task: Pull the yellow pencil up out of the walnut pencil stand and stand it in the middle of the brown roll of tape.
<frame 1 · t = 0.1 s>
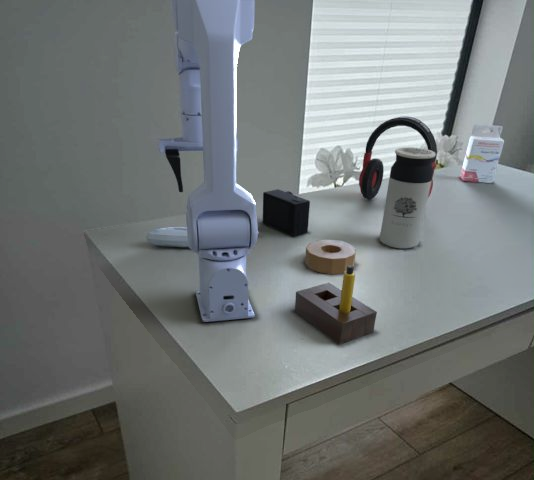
hand: (200, 190, 96), 10 cm above the table, tool pointing down, fingers open, 7 cm apart
tape roll: (329, 263, 93), on the table
travel mug: (398, 243, 103), on the table
spaceship: (203, 241, 101), on the table
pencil: (342, 328, 74), resting in pencil stand
pencil stand: (332, 321, 75), on the table
ink cartridge box: (476, 180, 146), on the table
digital camera: (286, 228, 108), on the table
headphones: (391, 203, 125), on the table
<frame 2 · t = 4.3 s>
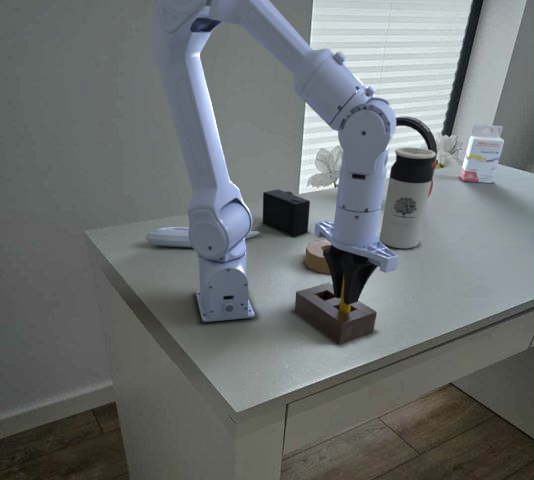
hand: (346, 299, 71), 5 cm above the table, tool pointing down, fingers closed on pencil, 1 cm apart
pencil: (342, 328, 74), resting in pencil stand, touching gripper
everything else where it was.
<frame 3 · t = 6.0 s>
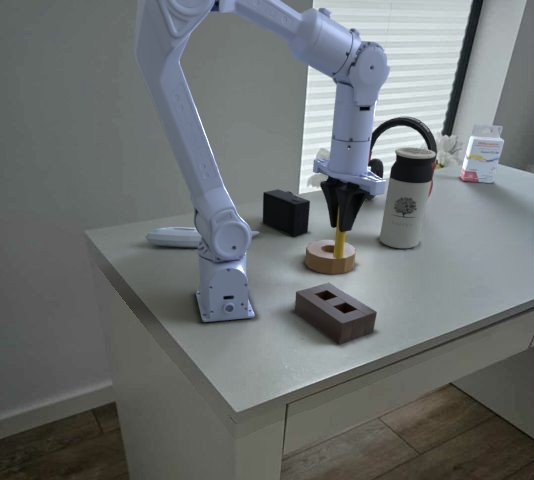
hand: (341, 228, 79), 10 cm above the table, tool pointing down, fingers closed on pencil
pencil: (338, 257, 82), point 6 cm above the table, touching gripper
everything else where it was.
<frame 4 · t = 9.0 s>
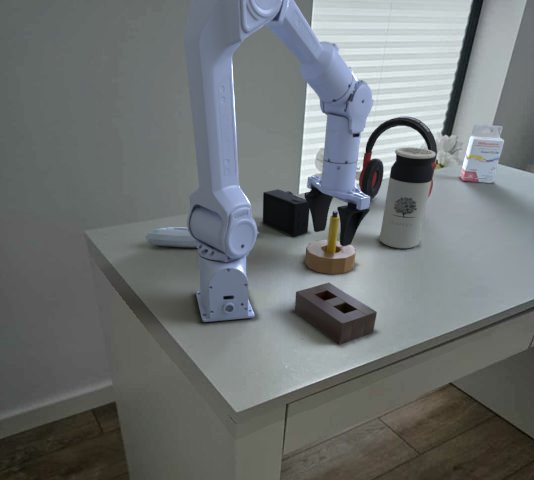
hand: (332, 237, 90), 5 cm above the table, tool pointing down, fingers open, 7 cm apart
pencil: (329, 263, 93), resting in tape roll
everything else where it was.
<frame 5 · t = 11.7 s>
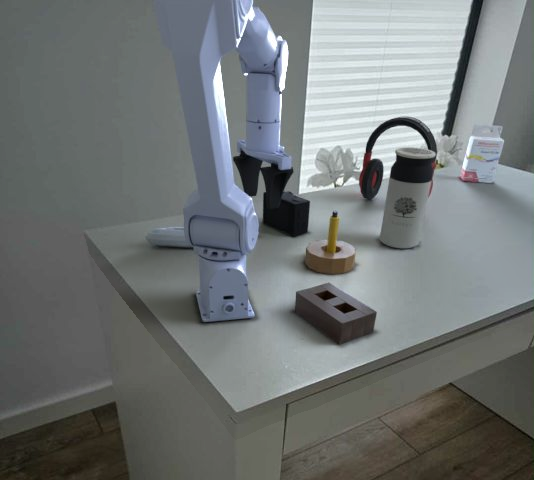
hand: (261, 201, 89), 10 cm above the table, tool pointing down, fingers open, 7 cm apart
nothing on the table moved.
at the end: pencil 0.1 cm off-centre on the tape roll, point 0.0 cm above the tape roll's base; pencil tilted 0°; the gripper is holding nothing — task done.
